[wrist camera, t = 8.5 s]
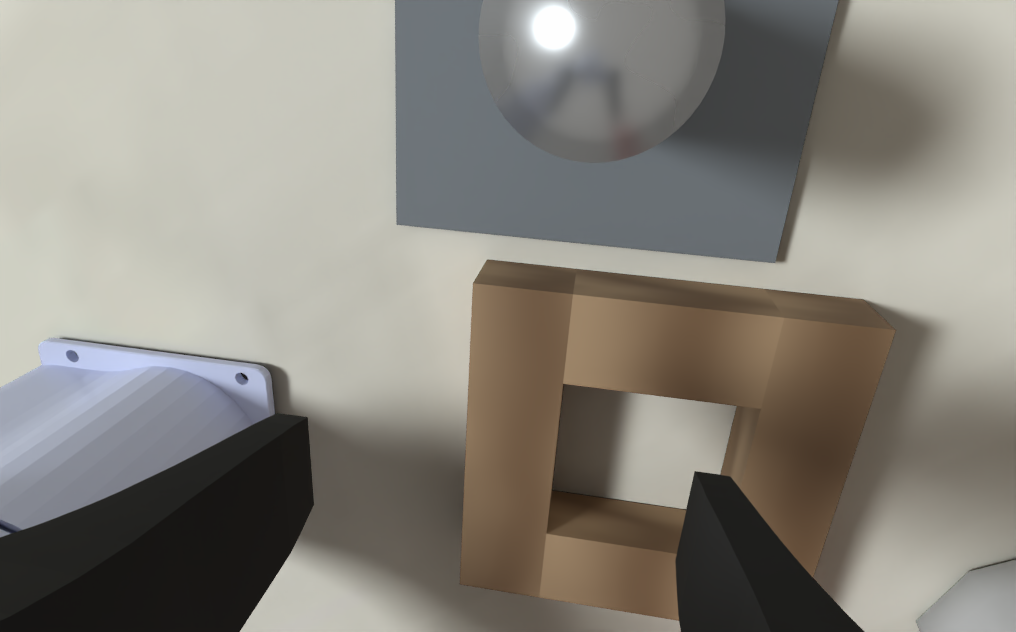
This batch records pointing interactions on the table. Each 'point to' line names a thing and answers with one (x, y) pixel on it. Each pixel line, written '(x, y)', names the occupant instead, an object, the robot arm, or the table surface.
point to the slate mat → (617, 184)
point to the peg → (599, 70)
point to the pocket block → (662, 372)
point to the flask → (976, 603)
